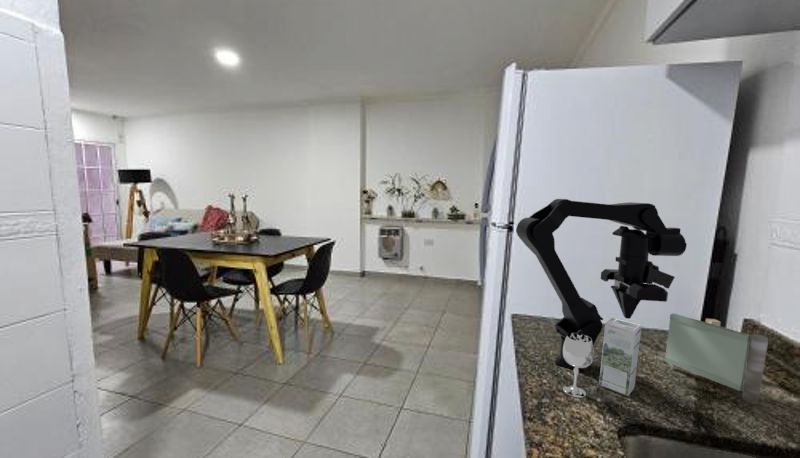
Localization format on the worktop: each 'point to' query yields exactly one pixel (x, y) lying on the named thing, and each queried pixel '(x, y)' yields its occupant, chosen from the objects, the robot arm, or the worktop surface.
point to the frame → (752, 366)
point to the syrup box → (620, 356)
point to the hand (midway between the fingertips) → (627, 317)
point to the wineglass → (577, 359)
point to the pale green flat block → (708, 350)
